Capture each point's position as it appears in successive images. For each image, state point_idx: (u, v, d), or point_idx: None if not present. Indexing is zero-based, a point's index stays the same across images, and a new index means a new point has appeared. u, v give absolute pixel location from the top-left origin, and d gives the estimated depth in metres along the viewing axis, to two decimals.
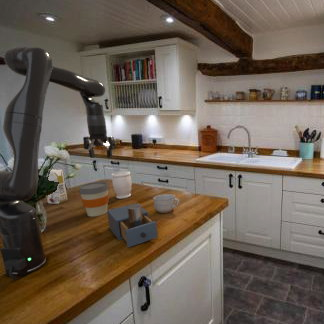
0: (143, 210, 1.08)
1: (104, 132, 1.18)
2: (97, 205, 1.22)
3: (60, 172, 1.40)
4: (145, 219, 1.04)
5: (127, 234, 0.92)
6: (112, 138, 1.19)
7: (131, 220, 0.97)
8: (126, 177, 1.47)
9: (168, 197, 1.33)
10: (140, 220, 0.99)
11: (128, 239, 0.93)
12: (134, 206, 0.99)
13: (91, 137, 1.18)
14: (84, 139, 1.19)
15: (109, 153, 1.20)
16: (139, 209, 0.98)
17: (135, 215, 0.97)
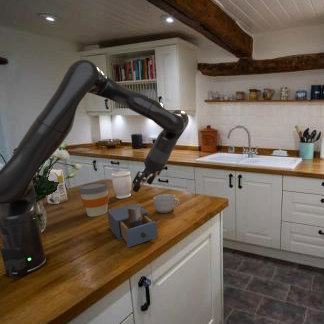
0: (143, 210, 1.08)
1: (147, 165, 0.92)
2: (97, 205, 1.22)
3: (60, 172, 1.40)
4: (145, 219, 1.04)
5: (127, 234, 0.92)
6: (140, 175, 0.90)
7: (131, 220, 0.97)
8: (126, 177, 1.47)
9: (168, 197, 1.33)
10: (140, 220, 0.99)
11: (128, 239, 0.93)
12: (134, 206, 0.99)
13: None
14: None
15: None
16: (139, 209, 0.98)
17: (135, 215, 0.97)
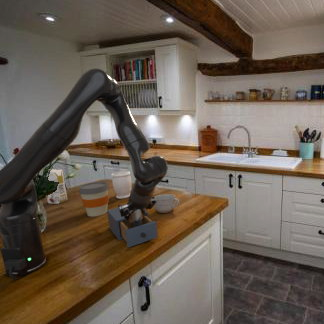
0: None
1: (128, 200, 0.90)
2: (97, 205, 1.22)
3: (60, 172, 1.40)
4: (145, 219, 1.04)
5: (127, 234, 0.92)
6: (119, 209, 0.91)
7: (131, 220, 0.97)
8: (126, 177, 1.47)
9: (168, 197, 1.33)
10: (140, 220, 0.99)
11: (128, 239, 0.93)
12: None
13: None
14: None
15: None
16: (139, 209, 0.98)
17: (135, 215, 0.97)
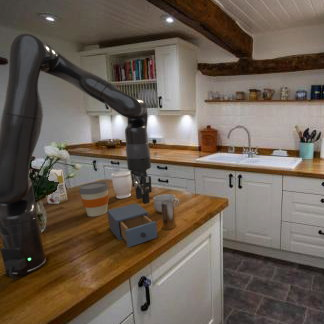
0: (143, 210, 1.08)
1: (141, 168, 0.84)
2: (97, 205, 1.22)
3: (60, 172, 1.40)
4: (145, 219, 1.04)
5: (127, 234, 0.92)
6: (147, 179, 0.83)
7: (165, 214, 1.08)
8: (126, 177, 1.47)
9: (168, 197, 1.33)
10: (172, 214, 1.09)
11: (128, 239, 0.93)
12: (167, 201, 1.09)
13: (134, 171, 0.89)
14: (131, 174, 0.91)
15: (144, 198, 0.86)
16: (172, 204, 1.08)
17: (168, 209, 1.07)
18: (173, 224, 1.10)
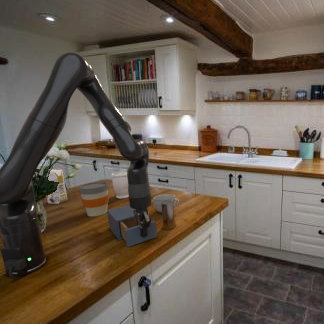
0: None
1: (142, 206, 0.89)
2: (97, 205, 1.22)
3: (60, 172, 1.40)
4: None
5: (127, 234, 0.93)
6: (148, 221, 0.89)
7: (165, 214, 1.08)
8: (126, 177, 1.47)
9: (168, 197, 1.33)
10: (172, 214, 1.09)
11: (128, 238, 0.93)
12: (167, 201, 1.09)
13: None
14: (134, 213, 0.96)
15: (143, 232, 0.93)
16: (172, 204, 1.08)
17: (168, 209, 1.07)
18: (173, 224, 1.10)
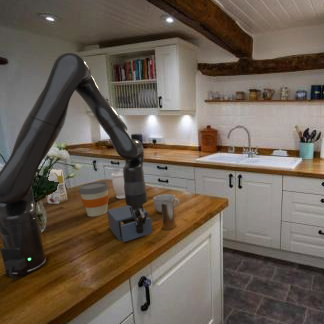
0: None
1: (138, 203, 0.92)
2: (97, 205, 1.22)
3: (60, 172, 1.40)
4: None
5: (123, 229, 0.96)
6: (143, 218, 0.92)
7: (165, 214, 1.08)
8: None
9: (168, 197, 1.33)
10: (172, 214, 1.09)
11: (124, 234, 0.97)
12: (167, 201, 1.09)
13: None
14: (130, 210, 0.99)
15: (138, 228, 0.96)
16: (172, 204, 1.08)
17: (168, 209, 1.07)
18: (173, 224, 1.10)
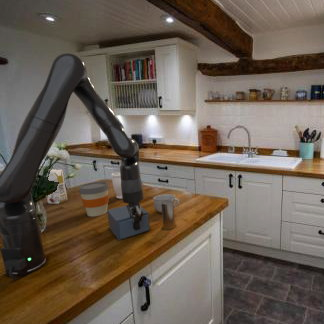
0: (143, 210, 1.08)
1: (134, 200, 0.95)
2: (97, 205, 1.22)
3: (60, 172, 1.40)
4: None
5: (120, 226, 0.99)
6: (140, 214, 0.95)
7: (165, 214, 1.08)
8: None
9: (168, 197, 1.33)
10: (172, 214, 1.09)
11: (121, 231, 0.99)
12: (167, 201, 1.09)
13: None
14: (127, 207, 1.02)
15: (135, 225, 0.99)
16: (172, 204, 1.08)
17: (168, 209, 1.07)
18: (173, 224, 1.10)
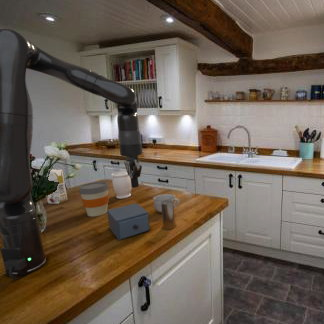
0: (143, 210, 1.08)
1: (133, 153, 0.89)
2: (97, 205, 1.22)
3: (60, 172, 1.40)
4: None
5: (120, 226, 0.99)
6: (138, 169, 0.89)
7: (165, 214, 1.08)
8: (126, 177, 1.47)
9: (168, 197, 1.33)
10: (172, 214, 1.09)
11: (121, 231, 0.99)
12: (167, 201, 1.09)
13: (126, 157, 0.94)
14: (125, 164, 0.96)
15: (133, 182, 0.93)
16: (172, 204, 1.08)
17: (168, 209, 1.07)
18: (173, 224, 1.10)
